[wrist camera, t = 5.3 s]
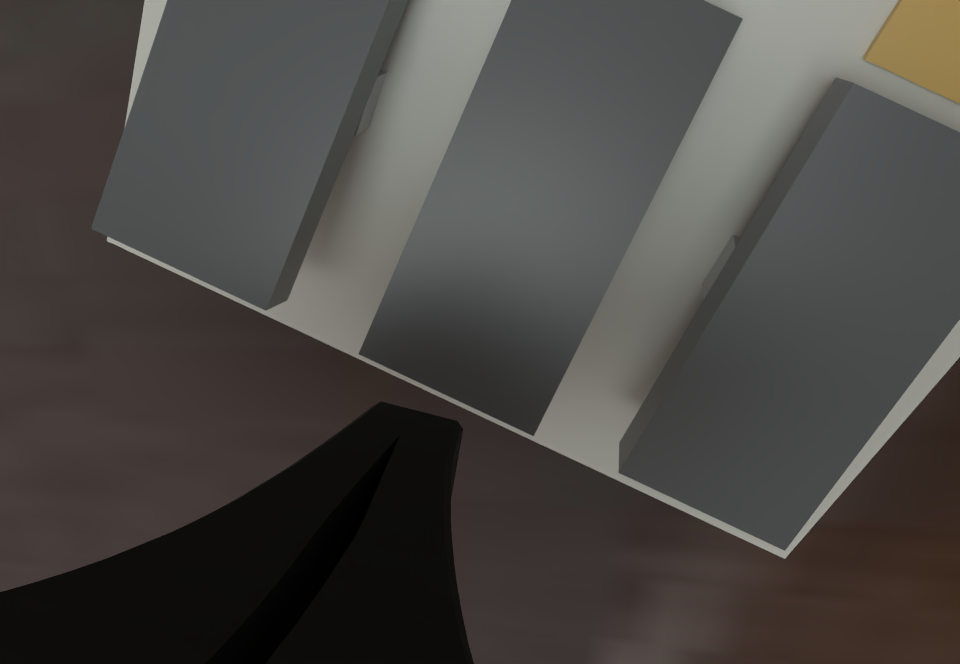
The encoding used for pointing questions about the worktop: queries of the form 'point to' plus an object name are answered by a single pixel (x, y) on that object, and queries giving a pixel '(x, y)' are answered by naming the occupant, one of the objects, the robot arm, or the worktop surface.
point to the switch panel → (668, 220)
